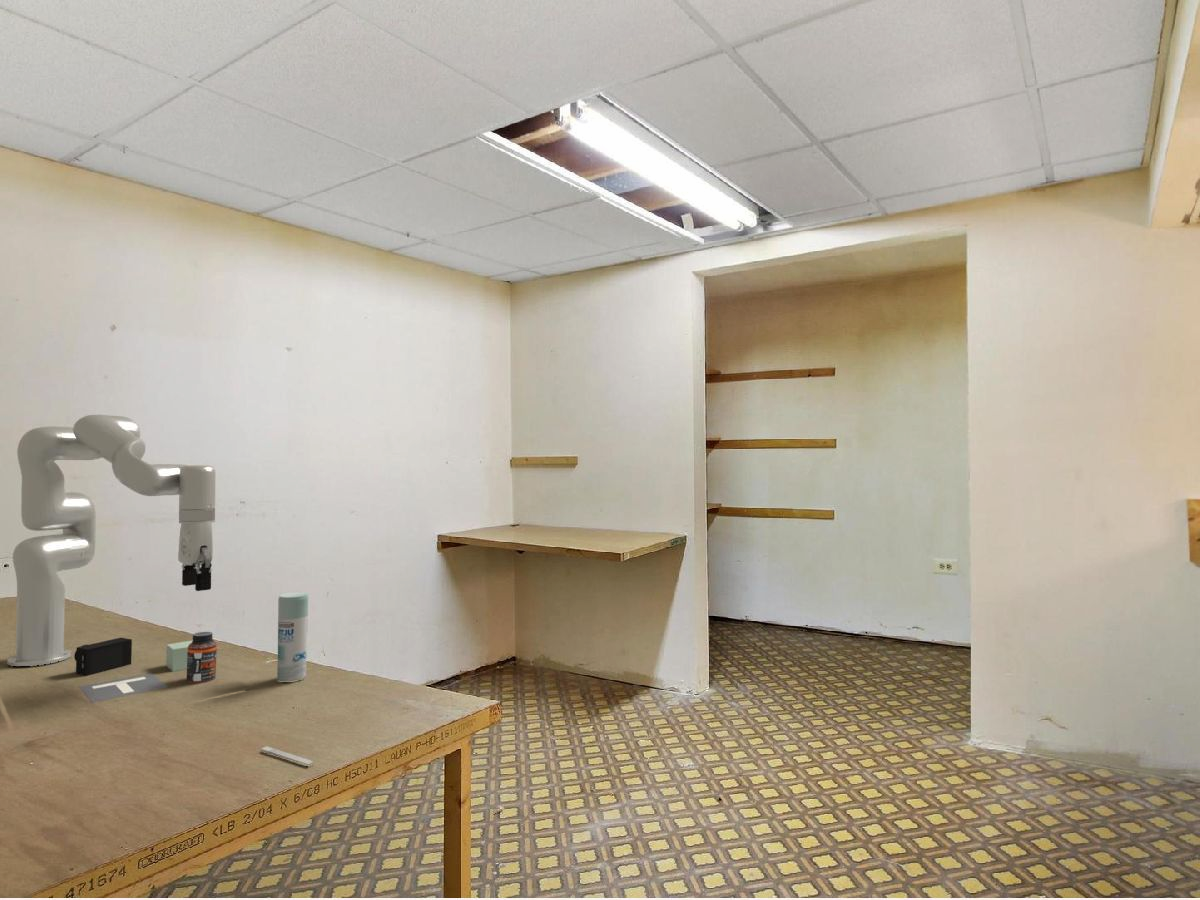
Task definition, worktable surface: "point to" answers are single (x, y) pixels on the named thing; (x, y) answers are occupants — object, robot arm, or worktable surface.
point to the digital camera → (103, 656)
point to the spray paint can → (292, 636)
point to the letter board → (122, 687)
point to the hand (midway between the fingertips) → (196, 587)
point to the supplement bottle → (201, 658)
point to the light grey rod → (285, 755)
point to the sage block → (177, 655)
